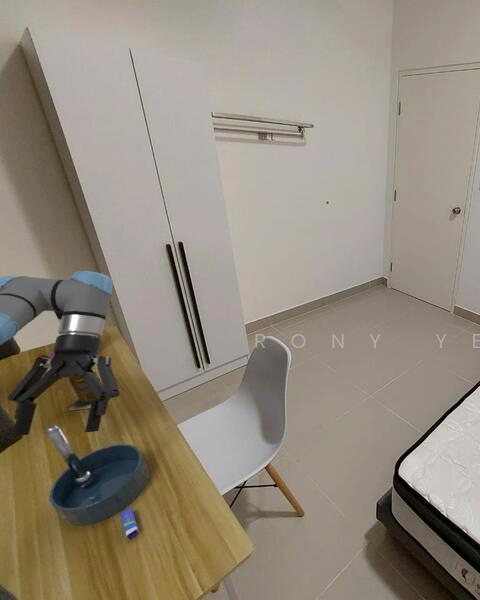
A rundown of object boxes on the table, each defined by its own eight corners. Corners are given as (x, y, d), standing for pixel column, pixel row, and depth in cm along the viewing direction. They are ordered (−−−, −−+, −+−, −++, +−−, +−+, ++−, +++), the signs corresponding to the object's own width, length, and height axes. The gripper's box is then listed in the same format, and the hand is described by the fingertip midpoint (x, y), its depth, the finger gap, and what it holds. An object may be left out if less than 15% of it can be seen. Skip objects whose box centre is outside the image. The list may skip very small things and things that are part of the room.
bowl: (41, 530, 70) (27, 514, 67) (93, 461, 84) (84, 446, 81) (123, 522, 72) (114, 506, 69) (161, 457, 86) (154, 441, 83)
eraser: (128, 540, 69) (125, 535, 68) (123, 518, 72) (120, 513, 71) (139, 533, 70) (136, 528, 69) (134, 512, 74) (131, 507, 73)
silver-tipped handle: (100, 477, 79) (67, 421, 70) (86, 492, 76) (49, 435, 67) (87, 475, 79) (52, 419, 70) (72, 489, 76) (33, 432, 67)
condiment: (111, 388, 106) (98, 358, 100) (97, 407, 99) (82, 377, 93) (85, 391, 104) (69, 361, 99) (68, 411, 97) (50, 380, 91)
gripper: (148, 338, 81) (131, 428, 75) (34, 340, 78) (7, 435, 72) (128, 332, 74) (108, 431, 68) (2, 334, 71) (-31, 439, 65)
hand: (56, 433), depth 70 cm, fingers open, 13 cm apart
